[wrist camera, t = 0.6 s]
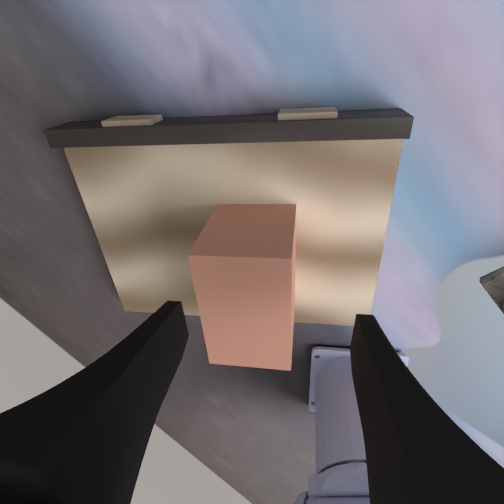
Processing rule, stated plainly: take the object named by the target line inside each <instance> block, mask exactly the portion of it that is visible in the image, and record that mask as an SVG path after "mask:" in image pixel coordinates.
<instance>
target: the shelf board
mask: <svg viewBox="0 0 504 504" xmlns="http://www.w3.org/2000/svg"><path fill="white" fill-rule="evenodd" d="M413 118H414V117H413V116H412V115H410V114H409V113H407V112H406V111H404V110H403V109H401V108H400V109H375V110H351V111H337V109H336V107H317V108H294V109H280V110H279V113H277V114H253V115H228V116H204V117H179V118H163V117H162V114H155V115H131V116H115V117H112V118H109V119H106V120H103V121H81V122H69V123H66V124H63V125H60V126H56V127H53V128H50V129H47V130H44V132H45V135H46V137H47V140H48V142H49V145H50V147H51V148H64V151H65V154H66V156H67V159H68V162H69V164H70V167H71V170H72V172H73V175H74V178H75V180H76V183H77V186H78V188H79V191H80V194H81V196H82V199H83V202H84V204H85V207H86V210H87V212H88V215H89V218H90V220H91V223H92V226H93V228H94V231H95V234H96V236H97V239H98V242H99V244H100V247H101V250H102V252H103V255H104V258H105V260H106V263H107V266H108V268H109V271H110V274H111V276H112V279H113V282H114V284H115V287H116V290H117V292H118V295H119V298H120V300H121V303H122V306H123V308H124V311H133V312H148V313H154V312H155V311H157V310H158V309H159V308H160V307H161V306H162V305H163V304H164V303H166V302H167V301H168V300H169V301H181V302H182V307H183V311H184V315H194V316H200V314H199V309H198V304H197V299H196V294H195V290H194V285H193V280H192V275H191V270H190V265H189V260H188V254H189V252H190V250H191V248H192V247H193V245H194V243H195V242H196V240H197V238H198V237H199V235H200V233H201V231H202V230H203V228H204V226H205V225H206V223H207V221H208V220H209V218H210V216H211V214H212V213H213V211H214V209H215V208H216V206H217V204H290V205H296V265H295V311H294V322H301V323H316V324H331V325H347V326H354V323H355V318H356V314H367V315H370V313H371V308H372V303H373V298H374V292H375V287H376V282H377V276H378V271H379V266H380V260H381V255H382V250H383V245H384V239H385V234H386V229H387V223H388V218H389V213H390V208H391V202H392V197H393V192H394V186H395V181H396V176H397V170H398V165H399V160H400V155H401V149H402V144H403V139H409V138H410V133H411V128H412V123H413Z"/></svg>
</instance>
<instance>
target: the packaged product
mask: <svg viewBox="0 0 504 504" xmlns="http://www.w3.org/2000/svg"><path fill="white" fill-rule="evenodd" d="M480 283H481V284H482V286H483V287H484V288H485V290H486V291H487V292H488V294H489V295H490V296H491V298H492V299H493V300H494V301H495V303H496V304H497V306H498V307H499V308H500V310H501V311H502V312H503V313H504V267H502V268H500V269H498V270H495V271H493V272H491V273H489V274H486V275H485V276H482V277H480Z"/></svg>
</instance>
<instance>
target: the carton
mask: <svg viewBox="0 0 504 504" xmlns="http://www.w3.org/2000/svg"><path fill="white" fill-rule="evenodd" d="M188 260H189V265H190V270H191V275H192V280H193V285H194V290H195V294H196V299H197V304H198V309H199V314H200V319H201V324H202V329H203V333H204V338H205V343H206V348H207V353H208V358H209V363H210V364H221V365H232V366H243V367H254V368H265V369H276V370H287V371H291V362H292V345H293V328H294V311H295V265H296V205H290V204H217V206H216V208H215V209H214V211H213V213H212V214H211V216H210V218H209V220H208V221H207V223H206V225H205V226H204V228H203V230H202V231H201V233H200V235H199V237H198V238H197V240H196V242H195V243H194V245H193V247H192V248H191V250H190V252H189V254H188Z"/></svg>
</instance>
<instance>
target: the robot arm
mask: <svg viewBox="0 0 504 504" xmlns="http://www.w3.org/2000/svg"><path fill="white" fill-rule="evenodd" d="M188 336H189V334H188V330H187V325H186V320H185V316H184V311H183V307H182V302H181V301H169V300H168V301H167V302H166V303H164V304H163V305H162V306H161V307H160V308H159V309H158V310H157V311H155V312H154V313H153V314H152V315H151V316H150V317H149V318H148V319H147V320H146V321H144V322H143V323H142V324H141V325H140V326H139V327H138V328H137V329H135V330H134V331H133V332H132V333H131V334H130V335H128V336H127V337H126V338H125V339H123V340H122V341H121V342H120V343H119V344H117V345H116V346H115V347H114V348H112V349H111V350H110V351H108V352H107V353H106V354H104V355H103V356H102V357H100V358H99V359H97V360H96V361H95V362H93V363H92V364H90V365H89V366H87V367H86V368H84V369H83V370H81V371H80V372H78V373H76V374H75V375H73V376H71V377H70V378H68V379H66V380H65V381H63V382H62V383H60V384H58V385H57V386H55V387H53V388H51V389H49V390H47V391H45V392H44V393H42V394H40V395H38V396H36V397H34V398H32V399H30V400H28V401H26V402H24V403H22V404H20V405H18V406H16V407H13V408H11V409H9V410H7V411H5V412H3V413H0V504H130V502H131V499H132V495H133V491H134V488H135V483H136V481H137V477H138V474H139V470H140V467H141V463H142V460H143V457H144V454H145V450H146V447H147V444H148V441H149V438H150V435H151V432H152V429H153V426H154V423H155V420H156V417H157V414H158V412H159V409H160V407H161V404H162V402H163V400H164V398H165V395H166V393H167V391H168V389H169V386H170V384H171V382H172V380H173V377H174V375H175V373H176V371H177V368H178V366H179V364H180V361H181V359H182V356H183V353H184V350H185V347H186V343H187V340H188ZM408 362H409V358H408V355H407V354H405V353H399V352H396V351H395V349H394V348H393V346H392V345H391V343H390V342H389V340H388V339H387V337H386V336H385V334H384V332H383V331H382V329H381V327H380V326H379V324H378V322H377V320H376V318H375V317H374V316H373V315H367V314H356V318H355V323H354V329H353V335H352V341H351V347H350V349H347V348H334V347H321V346H315V347H313V348H312V354H311V371H310V388H309V405H308V408H309V410H310V411H312V412H315V433H316V474H315V475H309V476H308V492H307V491H304V492H302V493H300V494H299V495H298V497H297V499H296V502H295V504H504V468H503V467H501V466H500V465H499V464H498V463H497V462H496V461H495V460H494V459H492V458H491V457H490V456H489V455H488V454H487V453H486V452H484V451H483V450H482V449H481V448H480V447H479V446H478V445H477V444H476V443H475V442H474V441H473V440H472V439H471V438H470V437H469V436H468V435H467V434H466V433H465V432H464V431H463V430H462V429H460V428H459V427H458V426H457V425H456V424H455V423H454V422H453V421H452V420H451V418H450V417H449V416H448V415H447V414H446V413H445V412H444V411H443V410H442V409H441V408H440V407H439V406H438V404H437V403H436V402H435V401H434V400H433V399H432V398H431V397H430V395H429V394H428V393H427V392H426V391H425V390H424V388H423V387H422V386H421V385H420V383H419V382H418V381H417V380H416V378H415V377H414V376H413V375H412V373H411V372H410V371H409V369H408V368H407V365H408Z"/></svg>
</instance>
